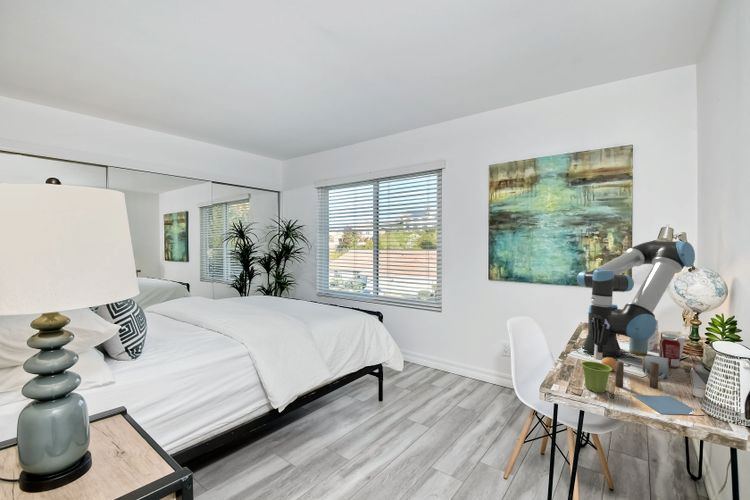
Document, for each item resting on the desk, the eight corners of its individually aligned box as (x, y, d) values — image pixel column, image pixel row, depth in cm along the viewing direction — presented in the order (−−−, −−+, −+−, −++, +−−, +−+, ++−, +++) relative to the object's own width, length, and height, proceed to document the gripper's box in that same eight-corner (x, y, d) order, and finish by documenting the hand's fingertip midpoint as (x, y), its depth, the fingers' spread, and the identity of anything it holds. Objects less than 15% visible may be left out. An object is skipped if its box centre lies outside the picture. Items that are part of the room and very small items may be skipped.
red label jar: (682, 356, 163) (683, 335, 162) (686, 361, 155) (687, 339, 155) (660, 352, 167) (660, 332, 167) (663, 357, 160) (663, 336, 160)
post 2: (654, 386, 128) (655, 362, 128) (659, 388, 126) (660, 364, 126) (647, 385, 128) (648, 362, 128) (652, 388, 126) (653, 364, 126)
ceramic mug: (643, 369, 145) (643, 351, 144) (668, 374, 139) (669, 356, 139) (641, 377, 137) (641, 358, 136) (668, 383, 131) (668, 363, 131)
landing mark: (670, 396, 120) (670, 396, 120) (704, 415, 107) (704, 415, 107) (632, 395, 120) (632, 394, 120) (660, 414, 107) (661, 413, 107)
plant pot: (603, 385, 129) (604, 362, 129) (616, 396, 120) (617, 371, 119) (576, 382, 131) (577, 360, 130) (586, 393, 121) (587, 369, 121)
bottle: (639, 350, 169) (640, 320, 169) (651, 355, 162) (652, 324, 162) (625, 350, 169) (626, 320, 169) (636, 355, 162) (637, 324, 162)
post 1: (620, 384, 129) (621, 361, 129) (624, 387, 127) (625, 363, 126) (613, 384, 129) (614, 361, 129) (617, 387, 127) (618, 363, 126)
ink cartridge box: (646, 346, 177) (647, 317, 177) (657, 348, 173) (658, 320, 173) (637, 348, 174) (638, 319, 173) (648, 351, 169) (649, 321, 169)
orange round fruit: (612, 368, 146) (612, 355, 146) (620, 373, 141) (620, 359, 140) (598, 367, 146) (599, 354, 146) (606, 372, 141) (607, 359, 141)
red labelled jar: (683, 369, 146) (684, 341, 146) (664, 367, 147) (665, 340, 147) (672, 363, 152) (673, 336, 152) (655, 362, 154) (656, 335, 153)
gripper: (584, 302, 156) (581, 353, 156) (600, 307, 143) (596, 363, 143) (602, 303, 155) (599, 355, 155) (619, 308, 142) (616, 365, 142)
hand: (598, 359), depth 149 cm, fingers closed
